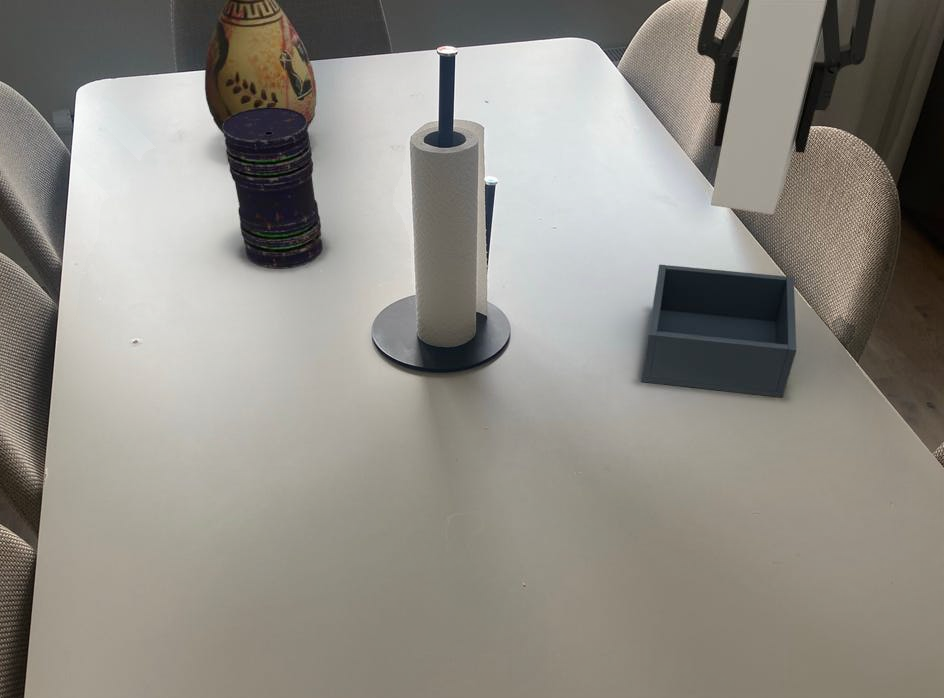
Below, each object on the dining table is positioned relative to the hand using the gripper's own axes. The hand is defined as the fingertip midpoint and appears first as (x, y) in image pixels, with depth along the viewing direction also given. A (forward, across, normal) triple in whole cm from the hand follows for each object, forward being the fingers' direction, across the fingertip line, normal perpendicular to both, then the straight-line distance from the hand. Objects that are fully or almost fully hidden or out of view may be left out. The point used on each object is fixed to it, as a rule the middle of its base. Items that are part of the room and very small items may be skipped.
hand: (759, 142), depth 87 cm
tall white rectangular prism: (+5, 0, 0) cm, 5 cm away
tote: (+22, 0, 0) cm, 22 cm away
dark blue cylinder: (+22, -54, +13) cm, 60 cm away
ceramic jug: (+22, -66, +42) cm, 81 cm away
